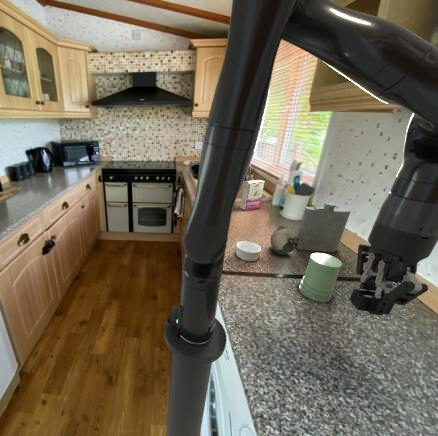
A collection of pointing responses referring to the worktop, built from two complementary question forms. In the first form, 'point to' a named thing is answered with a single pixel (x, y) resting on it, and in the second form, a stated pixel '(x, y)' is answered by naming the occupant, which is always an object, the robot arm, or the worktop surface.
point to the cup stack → (320, 277)
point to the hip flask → (322, 228)
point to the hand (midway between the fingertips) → (368, 306)
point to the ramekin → (248, 250)
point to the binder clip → (365, 300)
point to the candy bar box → (252, 194)
